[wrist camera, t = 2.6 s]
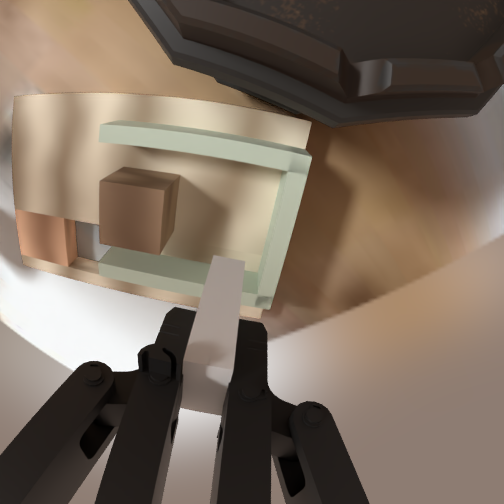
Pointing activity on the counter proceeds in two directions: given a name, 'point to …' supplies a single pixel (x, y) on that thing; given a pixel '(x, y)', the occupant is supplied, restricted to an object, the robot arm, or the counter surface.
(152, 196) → the block
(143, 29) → the counter surface
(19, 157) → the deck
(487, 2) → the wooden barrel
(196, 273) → the cubby
